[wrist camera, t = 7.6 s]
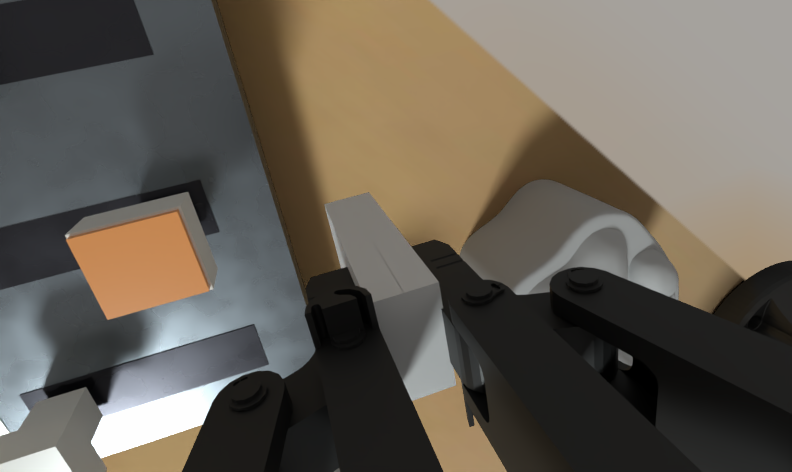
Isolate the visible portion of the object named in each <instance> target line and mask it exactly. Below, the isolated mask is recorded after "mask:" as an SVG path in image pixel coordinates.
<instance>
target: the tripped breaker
mask: <svg viewBox="0 0 792 472" xmlns="http://www.w3.org/2000/svg"><path fill="white" fill-rule="evenodd" d="M65 237H66V241H67V243H68V245H69V247H70V249H71V251H72V253H73V255H74V257H75V259H76V260H77V262H78V264H79V266H80V268H81V270H82V272H83V274H84V276H85V278H86V280H87V282H88V283H89V285H90V287H91V289H92V291H93V293H94V295H95V297H96V299H97V301H98V303H99V305H100V306H101V308H102V310H103V312H104V314H105V316H106V318H107V320H110V319H113V318H117V317H120V316H124V315H127V314H131V313H134V312H138V311H141V310H145V309H148V308H152V307H155V306H159V305H162V304H166V303H169V302H173V301H176V300H180V299H183V298H187V297H190V296H194V295H198V294H201V293H205V292H208V291H209V290H212V289H214V284H215V279H216V275H217V270H218V268H217V265H216V263H215V260H214V257H213V255H212V252H211V250H210V247H209V245H208V242H207V239H206V237H205V234H204V232H203V229H202V226H201V224H200V221H199V219H198V216H197V214H196V211H195V208H194V206H193V203H192V201H191V198H190V195H189V193H188V192H184V193H180V194H176V195H172V196H168V197H164V198H160V199H156V200H152V201H148V202H144V203H140V204H136V205H132V206H128V207H124V208H120V209H115V210H111V211H107V212H103V213H99V214H95V215H91V216H87V217H84V218H83V219H82V220H80V221H79V222H78V223H77V224H76V225H75V226H74V227H73V228H72V229H71V230H70V231H69V232H67V233H66V234H65Z"/></svg>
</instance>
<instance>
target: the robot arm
mask: <svg viewBox="0 0 792 472" xmlns="http://www.w3.org/2000/svg"><path fill="white" fill-rule="evenodd" d="M324 205H325V209H326V213H327V217H328V221H329V224H330V228H331V232H332V236H333V239H334V243H335V247H336V251H337V255H338V258H339V262H340V266H341V269H338V270H335V271H331V272H328V273H324V274H321V275H318V276H314V277H311V279H310V281H309V283H308V285H307V287H306V294H307V299H308V303H309V304H308V305H307V306H306V308H305V314H304V315H305V318H306V321H307V324H308V327H309V331H310V334H311V337H312V340H313V343H314V346H315V352H314V354H313V356H312V357H311V358H310V360H309V361H308V362H307V363H306V364H305V365H304V366H303V367H301V368H300V369H298V370H297V371H295V372H294V373H292V374H291V375H289V376H287V377H285V378H284V379H283V378H282V377H281V376H280V375H279V374H278V373H275V372H272V371H255V372H252V373H249V374H245V375H243V376H241V377H239V378H237V379H235V380H233V381H232V382H230V383H229V384H228V385H226V386H225V387H224V388H223V389H222V390H221V391H220V392H219V393H218V394H217V396H216V397H215V399H214V400H213V402H212V404H211V406H210V409H209V411H208V413H207V416H206V418H205V420H204V422H203V425H202V427H201V429H200V432H199V434H198V436H197V439H196V441H195V443H194V445H193V448H192V450H191V452H190V455H189V457H188V459H187V462H186V464H185V466H184V468H183V471H182V472H334V471H335V470H337V469H338V468H339V469H340V472H443V470H442V468H441V465H440V463H439V461H438V459H437V456H436V454H435V452H434V450H433V447H432V445H431V443H430V441H429V438H428V436H427V434H426V432H425V429H424V427H423V425H422V423H421V420H420V418H419V416H418V414H417V411H416V409H415V407H414V405H413V402H412V401H413V400H416V399H419V398H421V397H424V396H427V395H430V394H433V393H436V392H438V391H441V390H444V389H447V388H450V387H453V386H455V385H456V381H455V375H454V369H455V371H456V372H457V374H458V375H459V377H460V379H461V382H462V388H463V394H464V400H465V407H466V413H467V419H468V422H469V426H470V427H471V426H474V419H473V415H474V416H475V418H476V419H477V421H478V423H479V425H480V426H481V428H482V430H483V431H484V433H485V435H486V436H487V438H488V440H489V442H490V443H491V445H492V447H493V448H494V450H495V452H496V453H497V455H498V457H499V459H500V460H501V462H502V464H503V465H504V467H505V469H506V470H507V472H792V261H785V262H781V263H778V264H775V265H772V266H769V267H767V268H765V269H763V270H761V271H759V272H758V273H756V274H754V275H753V276H751V277H750V278H748V279H747V280H746V281H744V282H743V283H742V284H741V285H739V286H738V287H737V288H736V289H735V290H734V291H733V292H732V293H731V294H730V295H729V296H728V297H727V298H726V299H725V300H724V301H723V303H722V304H721V305H720V306H719V308H718V309H717V310H716V312H715V313H714V315H713V314H710V313H708V312H705V311H703V310H701V309H698V308H696V307H693V306H691V305H688V304H686V303H683V302H681V301H678V300H676V299H674V298H671V297H669V296H666V295H664V294H661V293H659V292H656V291H654V290H651V289H649V288H646V287H644V286H642V285H639V284H637V283H634V282H632V281H629V280H627V279H624V278H622V277H619V276H617V275H614V274H612V273H610V272H607V271H604V270H600V269H597V268H589V267H576V268H575V267H574V268H569V269H566V270H563V271H560V272H558V273H557V274H555V275H554V276H553V277H552V278H551V281H550V284H549V285H550V292H545V293H536V294H525V295H516V294H515V293H514V292H513V291H512V290H511V289H510V288H509V287H508V286H506V285H504V284H503V283H501V282H498V281H494V280H483V279H482V278H481V277H480V276H479V275H478V274H477V273H476V272H475V271H474V270H473V269H472V268H471V267H470V266H469V265H468V264H467V263H466V262H465V261H463V259H462V258H461V257H460V256H459V255H458V254H457V253H456V252H455V251H454V250H453V249H452V248H451V247H450V246H449V245H448V244H445V243H443V242H440V241H437V240H432V241H429V242H425V243H422V244H418V245H415V246H412V247H411V246H410V244H409V243H408V242H407V241H406V239H405V238H404V237H403V235H402V234H401V233H400V232H399V230H398V229H397V228H396V227H395V225H394V224H393V223H392V221H391V220H390V219H389V218H388V216H387V215H386V214H385V212H384V211H383V210H382V209H381V207H380V206H379V205H378V203H377V202H376V201H375V200H374V198H373V197H372V196H371V194H370V193H369V192H368V193H364V194H361V195H357V196H353V197H349V198H346V199H342V200H338V201H334V202H331V203H327V204H324ZM618 349H620V350H622V351H623V352H625V353H627V354H629V355H631V356H632V357H633V363H632V366H630V365H627V364H625V363H623V362H621V361H619V360H618ZM453 367H454V369H453Z"/></svg>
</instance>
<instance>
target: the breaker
mask: <svg viewBox="0 0 792 472" xmlns="http://www.w3.org/2000/svg"><path fill="white" fill-rule="evenodd" d="M102 417H103V415H102V413H101V412H100V410H99V408H98V406H97V405H96V403H95V401H94V400H93V398H92V396H91V395H90V393H89V391H88V389H87V388H86V387H84V388H81V389H78V390H74V391H71V392H68V393H65V394H61V395H58V396H55V397H51V398H48V399H45V400H42V401H38V402H36V403H35V405H34V406H33V408H32V409H31V411H30V412H29V414H28V415H27V417H26V418H25V420H24V422H23V423H22V425H21V426H20V428H19V429H18V430H17V431H14V432H11V433H7V434H4V435H1V436H0V472H106V471H107V467H106V466H105V464H104V463H103V461H102V459H101V458H100V456H99V454H98V453H97V451H96V450H95V448H94V446H93V445H92V443H91V442H92V439H93V437H94V435H95V433H96V430H97V428H98V426H99V423H100V421H101V419H102Z"/></svg>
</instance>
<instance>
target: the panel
mask: <svg viewBox="0 0 792 472" xmlns="http://www.w3.org/2000/svg"><path fill="white" fill-rule="evenodd" d="M184 192H188V193H189V195H190V198H191V201H192V203H193V206H194V208H195V211H196V214H197V216H198V219H199V221H200V224H201V226H202V229H203V232H204V234H205V237H206V239H207V242H208V245H209V247H210V250H211V252H212V255H213V257H214V260H215V263H216V265H217V268H218V270H217V275H216V279H215V284H214V289H212V290H209V291H208V292H205V293H201V294H198V295H194V296H190V297H187V298H183V299H180V300H176V301H173V302H169V303H166V304H162V305H159V306H155V307H152V308H148V309H145V310H141V311H138V312H134V313H131V314H127V315H124V316H120V317H117V318H113V319H110V320H107V318H106V316H105V314H104V312H103V310H102V308H101V306H100V305H99V303H98V301H97V299H96V297H95V295H94V293H93V291H92V289H91V287H90V285H89V283H88V282H87V280H86V278H85V276H84V274H83V272H82V270H81V268H80V266H79V264H78V262H77V260H76V259H75V257H74V255H73V253H72V251H71V249H70V247H69V245H68V243H67V241H66V237H65V234H66V233H67V232H69V231H70V230H71V229H72V228H73V227H74V226H75V225H76V224H77V223H78V222H79V221H80V220H82V219H83V218H84V217H87V216H91V215H95V214H99V213H103V212H107V211H111V210H115V209H120V208H124V207H128V206H132V205H136V204H140V203H144V202H148V201H152V200H156V199H160V198H164V197H168V196H172V195H176V194H180V193H184ZM308 304H309V303H308V299H307V294H306V290H305V287H304V284H303V280H302V277H301V274H300V271H299V267H298V264H297V261H296V258H295V254H294V251H293V248H292V245H291V241H290V238H289V235H288V232H287V228H286V225H285V222H284V219H283V215H282V212H281V209H280V206H279V202H278V199H277V196H276V193H275V189H274V186H273V183H272V180H271V176H270V173H269V170H268V167H267V163H266V160H265V157H264V153H263V150H262V147H261V144H260V140H259V137H258V134H257V131H256V127H255V124H254V121H253V118H252V114H251V111H250V108H249V105H248V101H247V98H246V95H245V92H244V88H243V85H242V82H241V79H240V75H239V72H238V69H237V66H236V62H235V59H234V56H233V53H232V49H231V46H230V43H229V40H228V36H227V33H226V30H225V26H224V23H223V20H222V17H221V13H220V10H219V7H218V4H217V0H0V436H1V435H4V434H7V433H11V432H14V431H17V430H18V429H19V428H20V426H21V425H22V423H23V422H24V420H25V418H26V417H27V415H28V414H29V412H30V411H31V409H32V408H33V406H34V405H35V403H36V402H38V401H42V400H45V399H48V398H51V397H55V396H58V395H61V394H65V393H68V392H71V391H74V390H78V389H81V388H84V387H86V388H87V389H88V391H89V393H90V395H91V396H92V398H93V400H94V401H95V403H96V405H97V406H98V408H99V410H100V412H101V413H102V415H103V417H102V419H101V421H100V423H99V426H98V428H97V430H96V433H95V435H94V437H93V439H92V442H91V443H92V445H93V446H94V448H95V450H96V451H97V453H98V454H99V456H100V458H102V457H105V456H108V455H111V454H114V453H117V452H120V451H123V450H126V449H129V448H132V447H135V446H138V445H141V444H144V443H148V442H151V441H154V440H157V439H160V438H163V437H166V436H169V435H172V434H175V433H178V432H181V431H184V430H187V429H190V428H193V427H196V426H199V425H202V424H203V422H204V420H205V418H206V416H207V413H208V411H209V409H210V406H211V404H212V402H213V400H214V399H215V397H216V396H217V394H218V393H219V392H220V391H221V390H222V389H223V388H224V387H225V386H226V385H228V384H229V383H230V382H232V381H233V380H235V379H237V378H239V377H241V376H243V375H245V374H249V373H252V372H255V371H272V372H275V373H278V374H279V375H280V376H281V377H282V378H283V379H284V378H285V377H287V376H289V375H291V374H292V373H294V372H295V371H297V370H298V369H300V368H301V367H303V366H304V365H305V364H306V363H307V362H308V361H309V360H310V358H311V357H312V356H313V354H314V352H315V346H314V343H313V340H312V337H311V334H310V331H309V327H308V324H307V321H306V318H305V315H304V314H305V308H306V306H307V305H308Z"/></svg>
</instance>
